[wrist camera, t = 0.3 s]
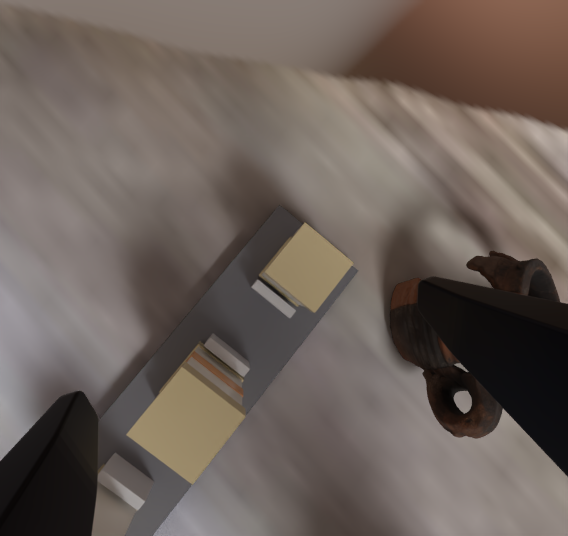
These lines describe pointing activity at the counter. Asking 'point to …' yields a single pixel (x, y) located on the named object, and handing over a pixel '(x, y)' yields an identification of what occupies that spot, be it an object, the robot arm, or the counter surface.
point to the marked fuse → (192, 414)
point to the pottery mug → (440, 361)
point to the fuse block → (229, 348)
